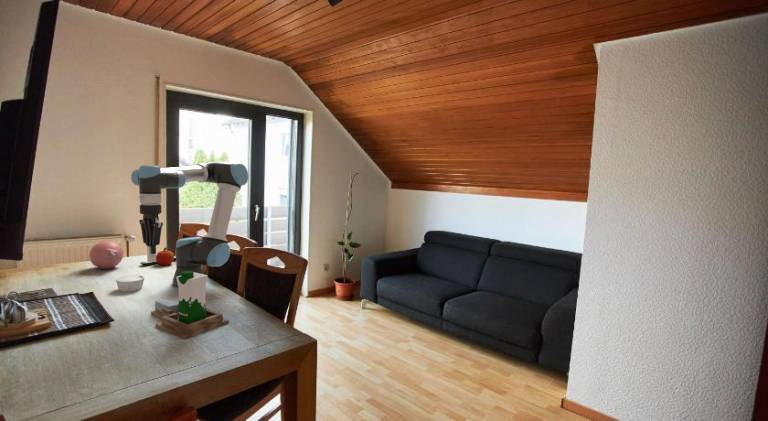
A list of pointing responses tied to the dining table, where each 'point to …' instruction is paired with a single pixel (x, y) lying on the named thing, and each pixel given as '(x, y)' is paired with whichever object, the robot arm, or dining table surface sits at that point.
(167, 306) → the lock bar
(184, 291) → the soya milk
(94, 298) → the dining table surface
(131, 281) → the ramekin
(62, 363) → the dining table surface
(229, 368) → the dining table surface
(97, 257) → the pink ovoid shape
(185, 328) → the brown wooden tray
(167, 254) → the fruit
